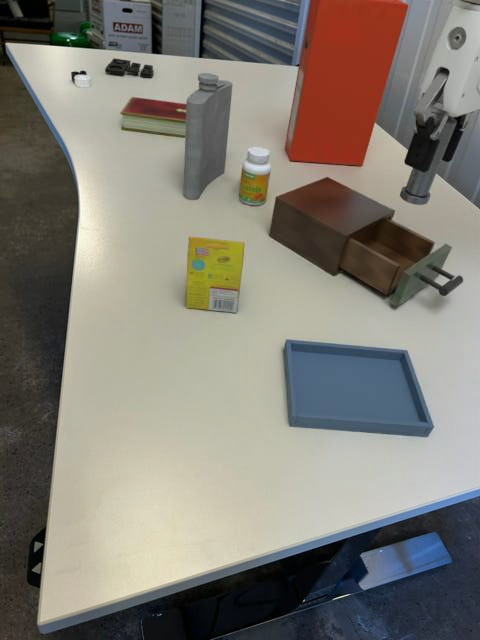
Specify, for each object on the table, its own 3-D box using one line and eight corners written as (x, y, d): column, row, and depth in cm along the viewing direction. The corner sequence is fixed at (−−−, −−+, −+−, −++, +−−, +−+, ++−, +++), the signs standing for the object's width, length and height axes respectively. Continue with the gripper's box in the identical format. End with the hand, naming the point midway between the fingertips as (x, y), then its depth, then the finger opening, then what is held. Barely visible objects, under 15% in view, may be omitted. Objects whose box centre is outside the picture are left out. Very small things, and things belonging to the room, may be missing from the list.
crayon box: (238, 300, 70) (247, 231, 62) (237, 314, 68) (247, 244, 60) (187, 295, 70) (190, 225, 62) (184, 308, 67) (188, 237, 60)
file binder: (284, 147, 115) (312, -13, 94) (353, 152, 118) (395, -2, 96) (289, 161, 109) (321, -6, 88) (362, 166, 112) (409, 5, 91)
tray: (402, 360, 64) (407, 350, 63) (427, 437, 55) (434, 426, 54) (283, 349, 63) (285, 339, 62) (289, 426, 54) (292, 415, 53)
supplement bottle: (236, 203, 92) (242, 154, 85) (240, 191, 96) (246, 143, 89) (264, 208, 91) (271, 159, 85) (267, 195, 96) (275, 148, 89)
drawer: (464, 291, 77) (480, 261, 73) (424, 324, 69) (440, 292, 65) (370, 239, 85) (380, 210, 82) (326, 263, 78) (335, 233, 74)
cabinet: (381, 248, 85) (395, 210, 80) (334, 276, 77) (346, 236, 72) (318, 213, 92) (327, 176, 87) (268, 235, 84) (275, 196, 79)
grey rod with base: (435, 199, 65) (468, 120, 58) (416, 209, 62) (448, 127, 55) (411, 187, 67) (440, 110, 60) (391, 197, 64) (419, 116, 57)
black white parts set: (68, 88, 131) (67, 75, 129) (91, 60, 149) (90, 48, 146) (142, 100, 133) (142, 87, 130) (156, 70, 150) (156, 58, 148)
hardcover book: (132, 112, 121) (131, 95, 118) (214, 123, 122) (216, 106, 119) (121, 129, 112) (120, 111, 109) (210, 141, 113) (211, 123, 110)
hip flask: (195, 201, 91) (201, 89, 77) (176, 195, 91) (178, 83, 78) (226, 170, 102) (236, 68, 89) (209, 165, 103) (216, 63, 90)
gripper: (492, 2, 42) (419, 191, 54) (558, -1, 52) (483, 160, 64) (419, -15, 46) (365, 166, 58) (493, -15, 56) (434, 140, 68)
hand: (428, 161), depth 61 cm, fingers closed on grey rod with base, 5 cm apart
